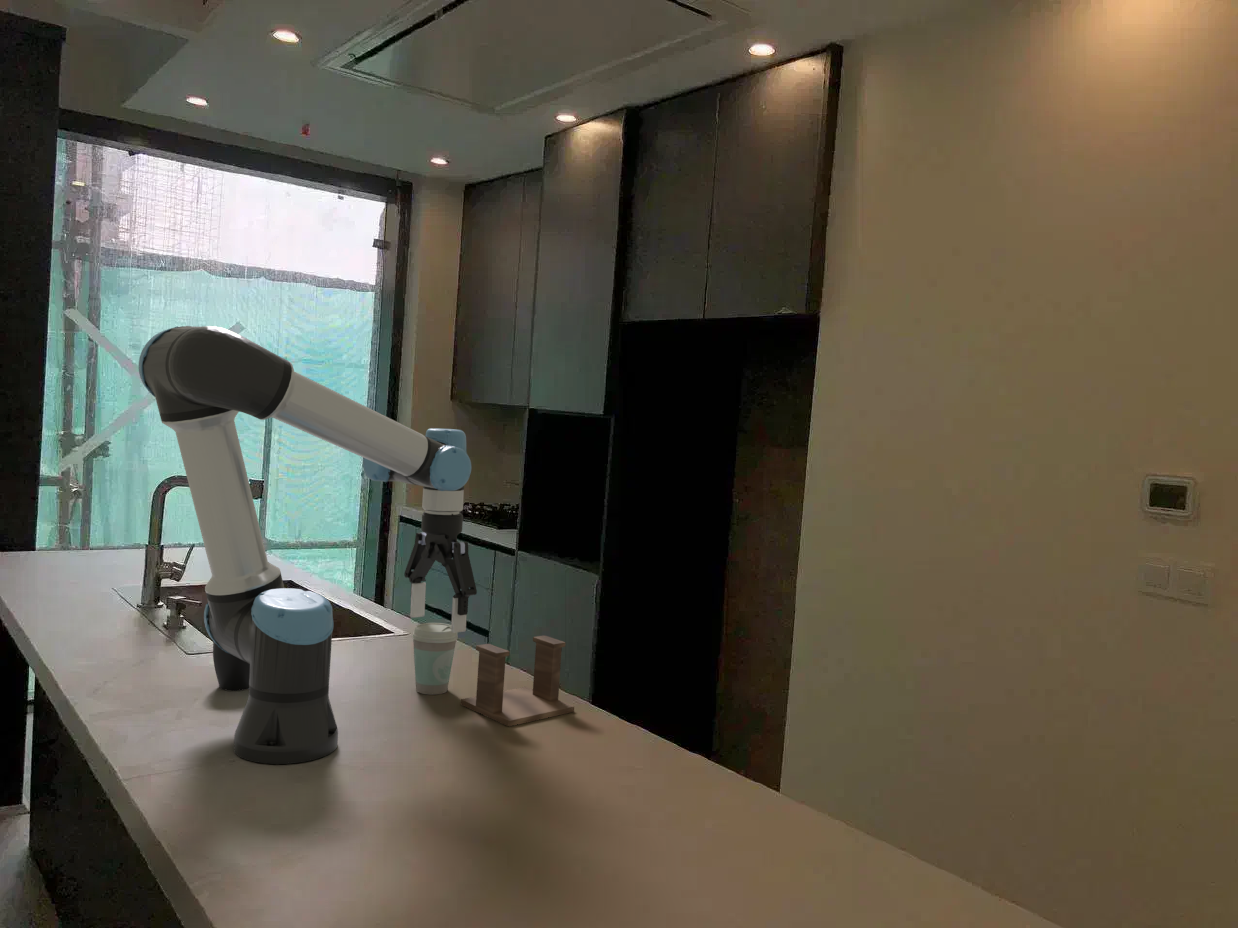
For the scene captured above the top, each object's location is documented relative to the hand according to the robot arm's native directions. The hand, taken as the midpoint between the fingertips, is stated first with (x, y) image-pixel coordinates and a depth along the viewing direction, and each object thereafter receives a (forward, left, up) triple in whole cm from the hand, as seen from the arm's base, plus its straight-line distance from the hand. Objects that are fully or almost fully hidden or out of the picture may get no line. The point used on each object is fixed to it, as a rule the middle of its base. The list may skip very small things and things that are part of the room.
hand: (437, 624), depth 183 cm
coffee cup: (0, 0, -13) cm, 13 cm away
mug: (-27, +20, -13) cm, 36 cm away
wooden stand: (+7, -17, -13) cm, 22 cm away
